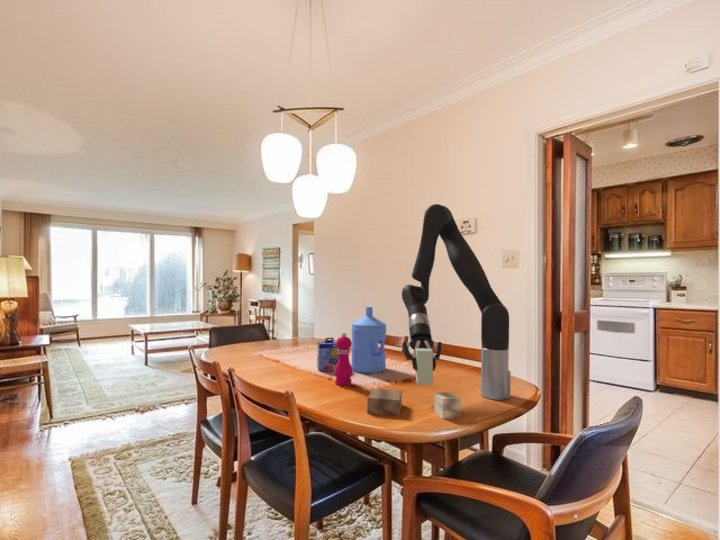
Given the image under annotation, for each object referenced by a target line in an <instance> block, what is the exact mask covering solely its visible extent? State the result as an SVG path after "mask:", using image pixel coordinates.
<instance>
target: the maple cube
mask: <svg viewBox="0 0 720 540" xmlns="http://www.w3.org/2000/svg"><path fill="white" fill-rule="evenodd" d="M461 403H462V398H461V396H459V395H457V394H456V393H454V392H452V391H446V392H445V391H443V392H434V393H433V412H434V413H435V414H436V415H437V416H438V417H440V418H441V419H442V420H446V419H458V418H461V417H462V416H461V412H462V411H461V409H462V404H461Z"/></svg>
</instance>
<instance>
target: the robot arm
mask: <svg viewBox="0 0 720 540" xmlns="http://www.w3.org/2000/svg"><path fill="white" fill-rule="evenodd" d="M422 221H423V223H422V232H421V237H420V243H419V247H418V252H417V255H416V259H415V262H414V266H413V270H412V272H411V277H412V278H413V280H415V281H417V282H418V283H420V286H417V285H413V284H406V285H405V286H403V288H402V290H401V298H402V302H403V303H404V306H405V308H406V311H407V313H408V314H407V315H408V331H409V342H405V341H403V342H402V350H403V354H404V356H405V358H406V360H407V361H411V363H412V369H413V370H414V371H415V372H416V371H417V359H416V348H430V349H431V350H432V355H433V372H435V370H436V369H437V362H436V361H439V360H440V357H441V352H442V351H441V350H442V342H441V341H438V342H435V341H434V340H433V338H432V337H433V336H432V332H431V325H430V320H429V316H428V310H427V307H426V305H425V304H427V302H428V301H429V297H430V279H431V275H432V271H433V268H434V265H435V264H434V263H435V260H436V258H435V257H436V248H437V247H436V246H437V242H438V238H439V237H440V238H441V241H442V242H443V243H444V246H445V249H446V253H447V256H448V259H449V260H448V261H449V262H450V264H451V266H452V268H453V270H454V272H455V274H456V275H457V277H458V278H459V279H460V281H461V283H462V284H463V286H464V287H465V289H467V290H468V292H469V294H470V295H472V297H473V298H474V300H475V302H476V305H477V306H478V308H479V311H480V313H481V318H480V319H481V320H480V321H481V323H480V324H481V325H480V327H481V328H480V329H481V330H480V331H481V333H480V335H481V339H480V341H481V354H480V355H481V360H480V361H481V362H480V363H481V365H480V366H481V367H480V368H481V369H480V371H481V372H480V373H481V374H480V375H481V376H480V396H482V397H483V398H486V399H490V400H494V401H495V400H496V401H498V400H499V401H501V400H507V399H509V400H510V399H511V383H512V382H511V381H512V380H511V379H512V378H511V377H512V376H511V373H512V372H511V371H510V370H509V368H510V367H509V364H510V363H509V359H510V358H509V357H510V356H509V355H510V353H509V351H510V314H509V311H508V308H507V307H506V306H505V305H504V304H503V303H502V301H501V300H500V299H499V296H498V295H497V294H496V293H495V291H494V289H493V288H492V286H491V283H490V281H489V279H488V276H487V275H486V274H487V273H485V270H484V269H483V266H482V265H481V262H480V261H479V259H478V257H477V256H476V253H475V252H474V250H473V249H472V248H471V246H470V245H469V243H468V241H467V240H466V239H465V237H464V236H463V235H462V233H461V231H460V229H459V227H458V225H457V223H456V221H455V219H454V215H453V213H452V211H451V210H450V209H449V208H448V207H447V206H446V205H445V206H444V205H442V204H436V203H434V204H431V205H430V206H428V207H427V208H426V209H425V211H424V214H423V220H422ZM433 347H434V348H435V350H436V353H434V352H433ZM410 348H411V349H412V350H413V353H412V354H411V353H410V350H409V349H410Z"/></svg>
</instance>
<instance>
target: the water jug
mask: <svg viewBox="0 0 720 540" xmlns="http://www.w3.org/2000/svg"><path fill="white" fill-rule="evenodd" d="M373 309H374V308H373V307H371V306H366V307H365V316H363V317H362V318H360V319H357V320H356V321H354V322H352V324H351V325H352V326H351V343H352V344H351V347H350V350H351V363H350V365H351V367H352V370H353V371H354V372H356V373H359V372H361V373H360V374H377V373H376V372H379V373H382V372H384V371H386V368H387V366H386V365H387V364H386V358H387V357H386V355H387V354H386V353H385V341H386V338H387V324H386V322H384V321H381V320H379V319H378V318H376V317H374V315H373V313H374V311H373ZM379 342H380V344H379ZM379 345H380V347H379ZM379 348H380V349H379ZM381 371H382V372H381Z"/></svg>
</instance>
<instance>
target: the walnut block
mask: <svg viewBox="0 0 720 540" xmlns="http://www.w3.org/2000/svg"><path fill="white" fill-rule="evenodd" d="M402 401H403V390H399V389H384V388H371V390H370V392H369V394H368V396H367V401H366V402H367V403H366V404H367V405H366V406H367V408H366V409H367V410H366V411H367V412H366V413H367V414H371V415H372V414H374V415H385V416H386V415H387V416H400V415H401V410H402V405H403V402H402Z"/></svg>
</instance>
